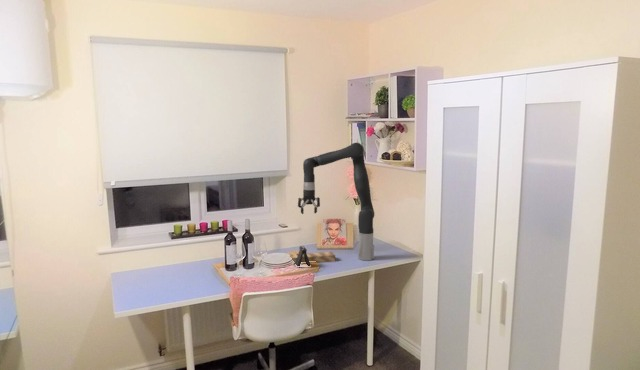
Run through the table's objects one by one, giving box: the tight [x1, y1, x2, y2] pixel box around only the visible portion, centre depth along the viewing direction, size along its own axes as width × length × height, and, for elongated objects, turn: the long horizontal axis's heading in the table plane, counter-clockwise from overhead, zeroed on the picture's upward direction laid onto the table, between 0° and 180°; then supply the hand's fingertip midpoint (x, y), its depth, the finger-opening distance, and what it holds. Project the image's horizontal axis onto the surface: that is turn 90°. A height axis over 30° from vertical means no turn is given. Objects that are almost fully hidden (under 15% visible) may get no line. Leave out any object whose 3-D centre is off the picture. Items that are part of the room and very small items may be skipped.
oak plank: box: [289, 251, 336, 263], centre depth 282 cm, size 28×8×4 cm, turn 106°
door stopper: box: [294, 245, 311, 266], centre depth 270 cm, size 9×6×12 cm, turn 106°
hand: (308, 213), depth 292 cm, fingers open, 8 cm apart
